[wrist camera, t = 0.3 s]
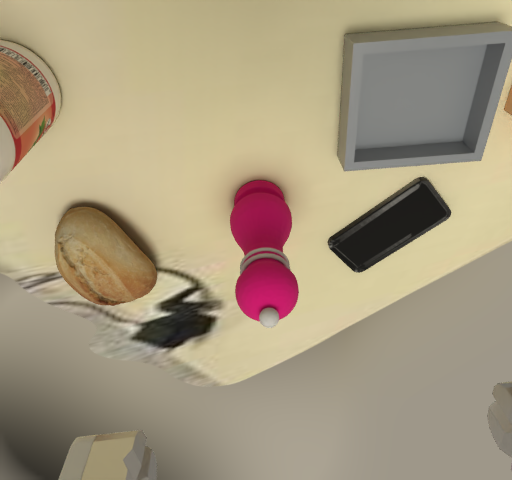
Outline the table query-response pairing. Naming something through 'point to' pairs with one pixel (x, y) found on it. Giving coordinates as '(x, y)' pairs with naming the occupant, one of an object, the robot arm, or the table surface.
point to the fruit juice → (24, 103)
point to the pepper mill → (263, 253)
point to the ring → (509, 103)
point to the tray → (421, 94)
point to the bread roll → (101, 258)
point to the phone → (390, 225)
